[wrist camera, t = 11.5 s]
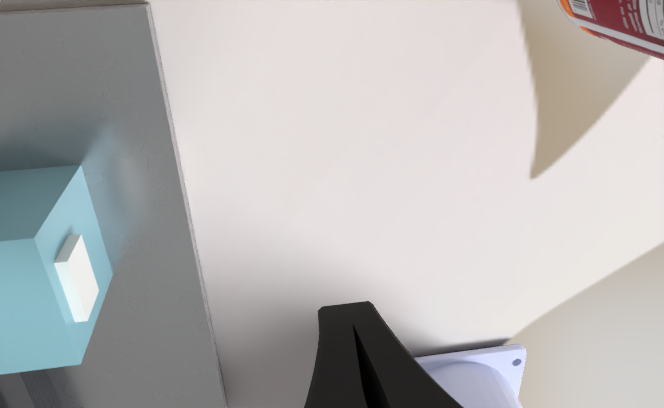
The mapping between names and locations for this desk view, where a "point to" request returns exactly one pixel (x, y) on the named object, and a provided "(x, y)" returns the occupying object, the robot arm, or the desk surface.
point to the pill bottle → (621, 22)
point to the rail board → (112, 204)
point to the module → (48, 268)
